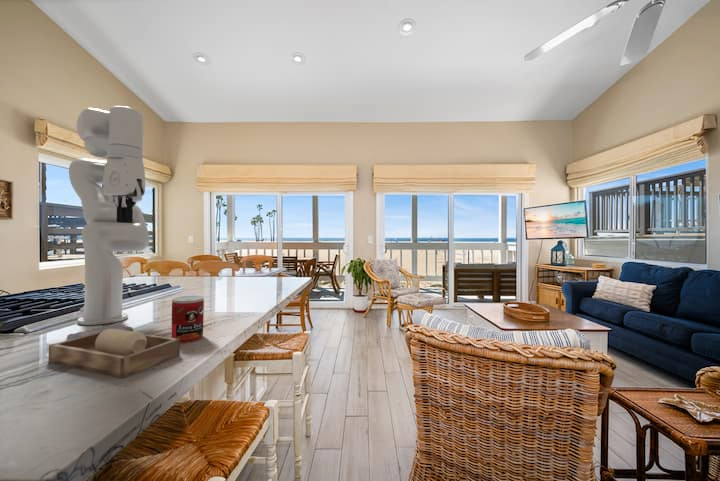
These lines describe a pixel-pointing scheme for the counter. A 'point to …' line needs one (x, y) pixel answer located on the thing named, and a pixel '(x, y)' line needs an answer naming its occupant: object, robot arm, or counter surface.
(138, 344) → the candle
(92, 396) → the counter surface
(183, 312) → the canned food
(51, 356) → the tray
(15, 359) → the counter surface
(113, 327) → the stone block
